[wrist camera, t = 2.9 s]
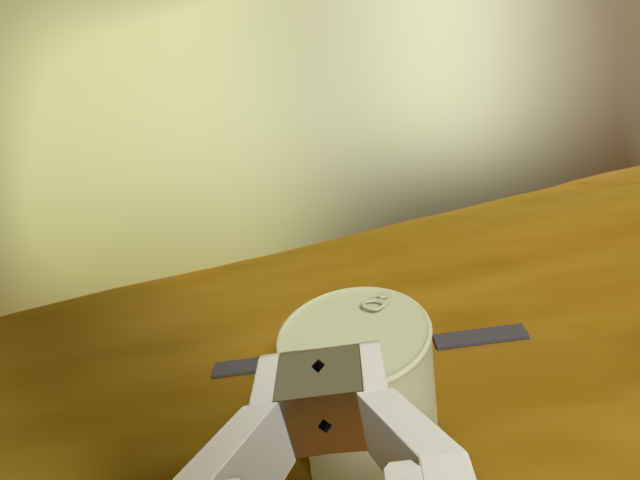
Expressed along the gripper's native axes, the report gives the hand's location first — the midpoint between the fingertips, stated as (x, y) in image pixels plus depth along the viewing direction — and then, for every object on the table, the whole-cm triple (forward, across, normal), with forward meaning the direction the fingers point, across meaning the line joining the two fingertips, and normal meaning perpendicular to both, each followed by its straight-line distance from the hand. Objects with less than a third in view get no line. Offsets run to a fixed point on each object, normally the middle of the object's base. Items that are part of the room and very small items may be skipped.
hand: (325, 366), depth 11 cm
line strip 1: (+23, +10, +20) cm, 32 cm away
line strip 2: (+23, -10, +20) cm, 32 cm away
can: (+12, 0, +20) cm, 24 cm away
